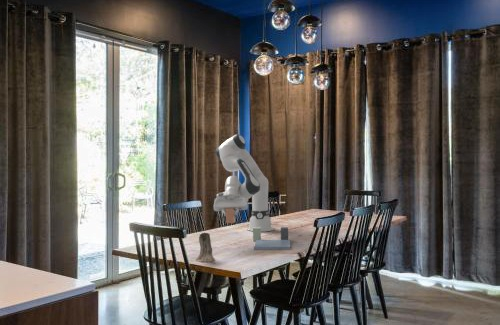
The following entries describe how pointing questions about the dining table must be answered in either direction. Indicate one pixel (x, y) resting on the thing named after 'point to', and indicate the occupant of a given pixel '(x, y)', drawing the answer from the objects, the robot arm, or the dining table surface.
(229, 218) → the terracotta brick
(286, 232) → the charcoal brick
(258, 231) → the sage brick
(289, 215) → the dining table surface
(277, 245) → the blue-grey baseplate
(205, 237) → the tree stump
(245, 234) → the dining table surface
